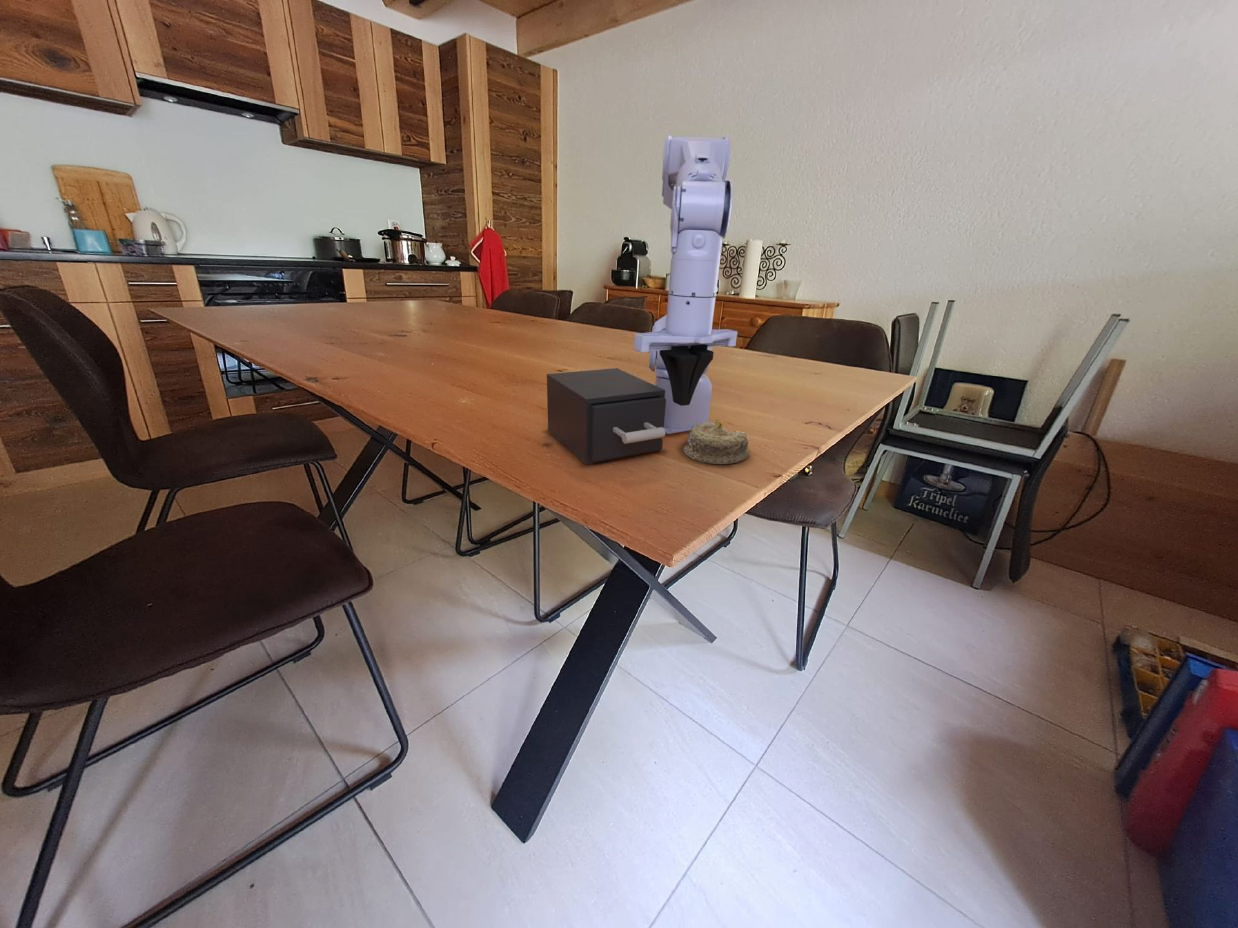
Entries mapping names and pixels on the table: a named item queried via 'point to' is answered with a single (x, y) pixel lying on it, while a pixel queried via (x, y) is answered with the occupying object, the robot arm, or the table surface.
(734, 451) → the beige textured round mound
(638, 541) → the table surface
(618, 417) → the drawer
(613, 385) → the cabinet
